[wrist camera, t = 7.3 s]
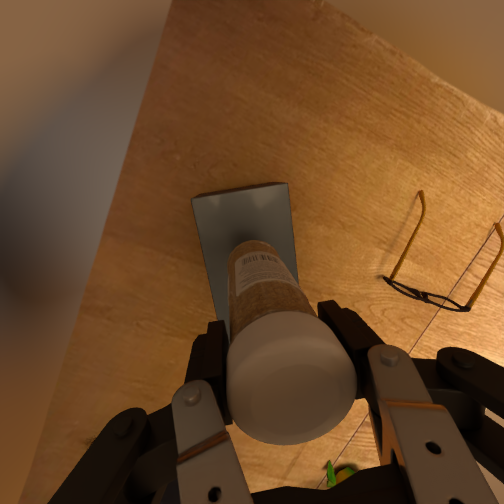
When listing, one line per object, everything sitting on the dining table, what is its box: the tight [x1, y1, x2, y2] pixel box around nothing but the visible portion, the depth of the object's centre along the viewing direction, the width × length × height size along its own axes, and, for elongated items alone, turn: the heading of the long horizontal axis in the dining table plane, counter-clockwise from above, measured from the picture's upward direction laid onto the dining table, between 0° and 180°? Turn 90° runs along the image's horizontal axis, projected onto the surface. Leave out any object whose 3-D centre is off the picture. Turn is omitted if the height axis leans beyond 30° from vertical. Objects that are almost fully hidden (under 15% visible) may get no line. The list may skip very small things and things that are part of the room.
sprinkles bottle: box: [226, 240, 357, 445], centre depth 14 cm, size 5×5×14 cm
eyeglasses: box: [383, 190, 504, 312], centre depth 36 cm, size 14×14×4 cm
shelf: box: [191, 182, 299, 344], centre depth 31 cm, size 26×10×11 cm, turn 9°
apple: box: [327, 460, 355, 487], centre depth 47 cm, size 7×6×9 cm
